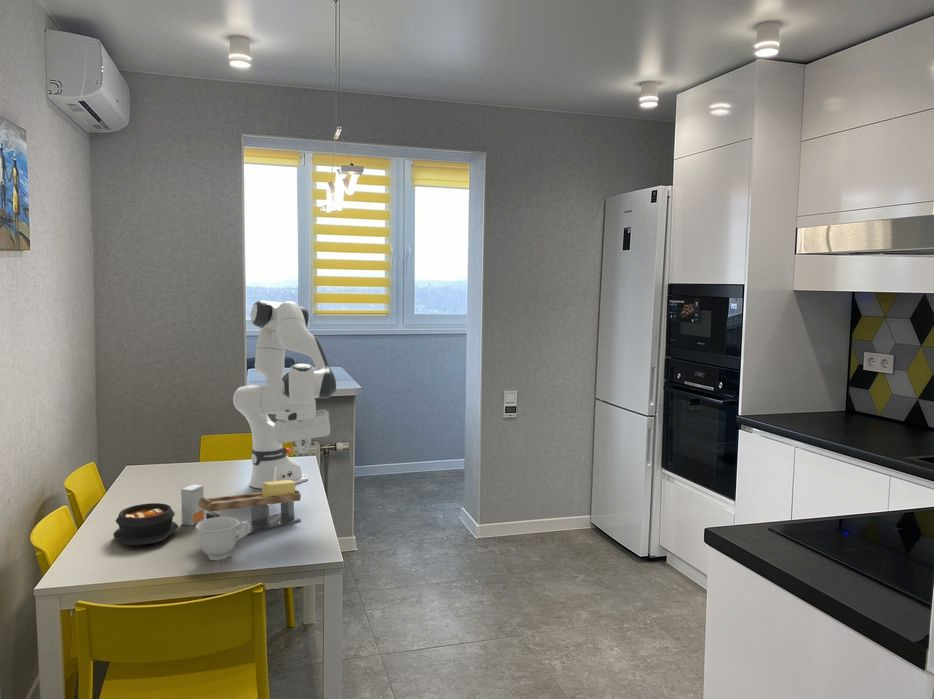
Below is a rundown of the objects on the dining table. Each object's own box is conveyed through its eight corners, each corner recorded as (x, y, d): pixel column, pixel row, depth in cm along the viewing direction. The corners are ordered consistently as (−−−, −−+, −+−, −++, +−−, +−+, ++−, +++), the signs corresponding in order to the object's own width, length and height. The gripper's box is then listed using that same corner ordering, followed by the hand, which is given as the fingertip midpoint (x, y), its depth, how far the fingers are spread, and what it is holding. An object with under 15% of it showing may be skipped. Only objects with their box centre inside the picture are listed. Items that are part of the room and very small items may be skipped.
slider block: (288, 492, 243) (289, 479, 243) (294, 495, 240) (295, 482, 240) (261, 495, 236) (262, 482, 236) (267, 498, 233) (268, 485, 233)
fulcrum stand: (285, 514, 246) (284, 491, 245) (300, 521, 239) (300, 498, 238) (200, 536, 225) (199, 511, 224) (215, 544, 218) (214, 519, 217)
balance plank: (289, 495, 245) (290, 487, 245) (300, 500, 240) (301, 491, 240) (198, 506, 222) (199, 496, 222) (208, 511, 218) (209, 502, 217)
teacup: (250, 561, 206) (249, 527, 205) (195, 566, 202) (194, 532, 201) (250, 545, 218) (249, 513, 217) (198, 551, 213) (197, 518, 212)
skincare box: (192, 526, 234) (190, 490, 233) (181, 524, 236) (180, 488, 235) (204, 520, 240) (203, 485, 239) (194, 518, 241) (193, 483, 240)
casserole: (177, 546, 217) (176, 519, 216) (109, 554, 210) (108, 527, 209) (179, 520, 240) (178, 495, 239) (117, 526, 234) (116, 501, 233)
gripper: (323, 407, 252) (323, 445, 253) (271, 414, 237) (271, 455, 239) (333, 409, 247) (334, 448, 249) (281, 417, 233) (281, 458, 234)
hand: (303, 452), depth 243 cm, fingers closed
